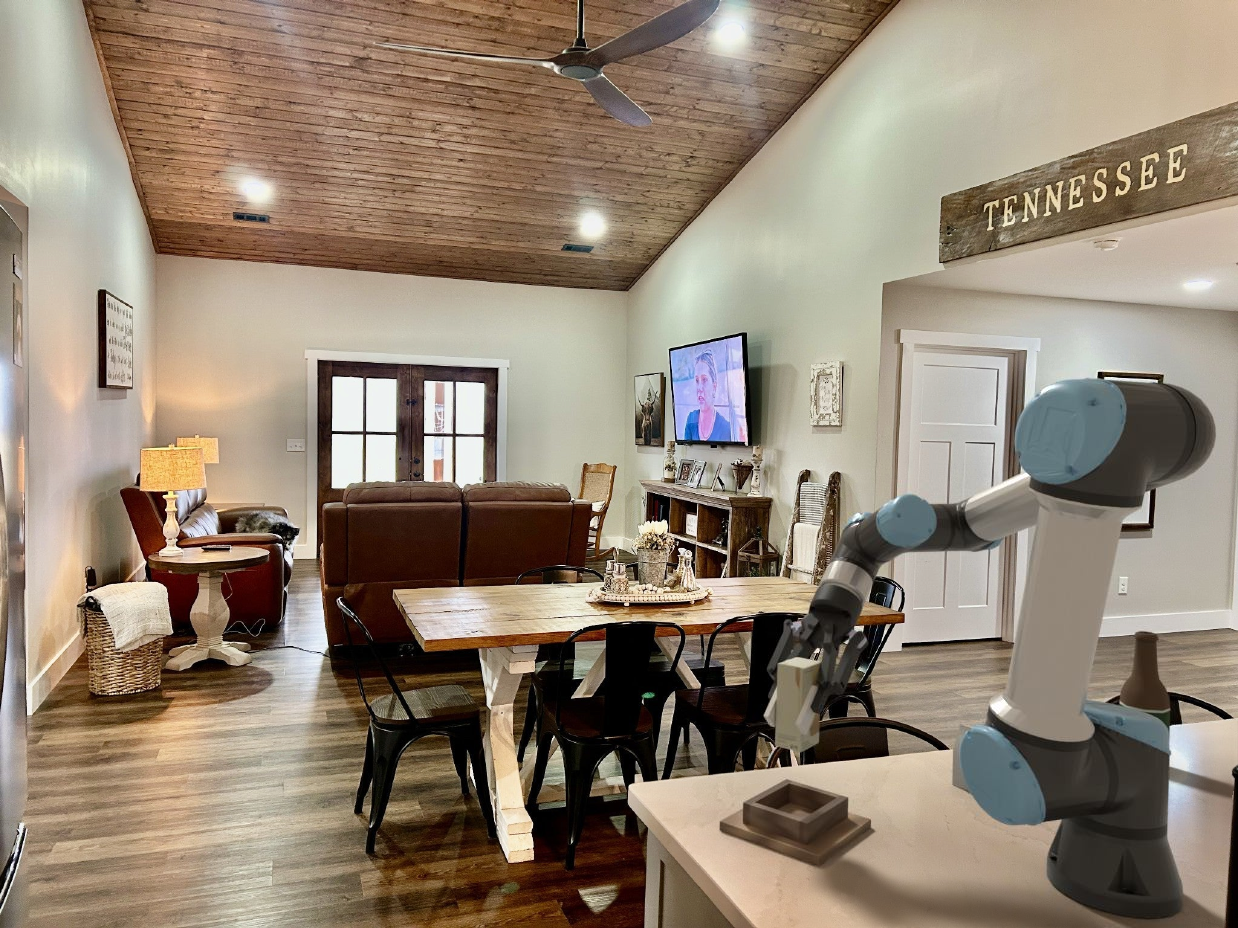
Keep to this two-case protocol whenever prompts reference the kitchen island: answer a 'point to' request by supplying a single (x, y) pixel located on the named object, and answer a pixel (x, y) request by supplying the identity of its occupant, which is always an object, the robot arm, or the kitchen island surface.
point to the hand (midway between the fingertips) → (784, 725)
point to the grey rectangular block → (957, 773)
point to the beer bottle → (1146, 681)
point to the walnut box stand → (797, 821)
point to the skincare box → (795, 703)
